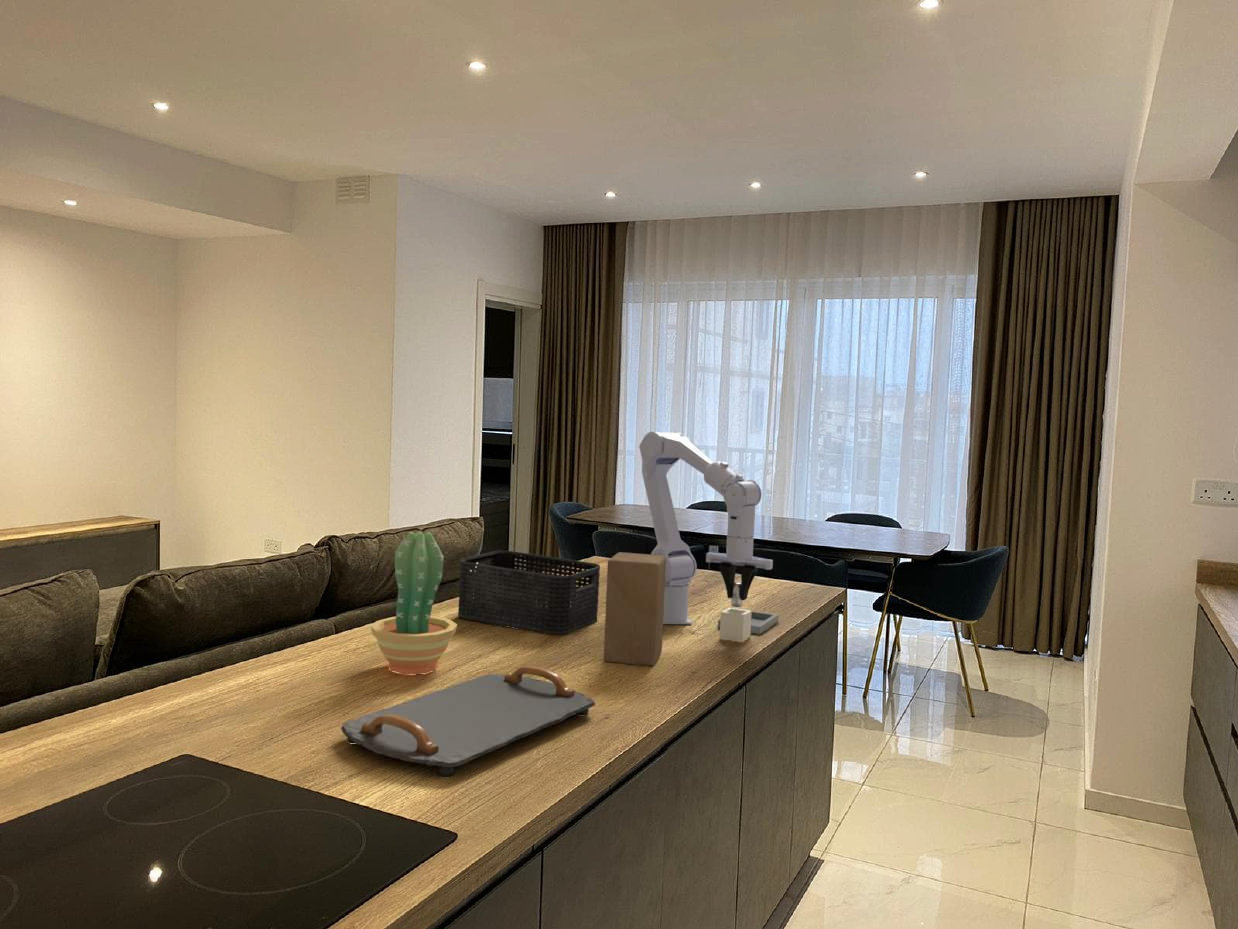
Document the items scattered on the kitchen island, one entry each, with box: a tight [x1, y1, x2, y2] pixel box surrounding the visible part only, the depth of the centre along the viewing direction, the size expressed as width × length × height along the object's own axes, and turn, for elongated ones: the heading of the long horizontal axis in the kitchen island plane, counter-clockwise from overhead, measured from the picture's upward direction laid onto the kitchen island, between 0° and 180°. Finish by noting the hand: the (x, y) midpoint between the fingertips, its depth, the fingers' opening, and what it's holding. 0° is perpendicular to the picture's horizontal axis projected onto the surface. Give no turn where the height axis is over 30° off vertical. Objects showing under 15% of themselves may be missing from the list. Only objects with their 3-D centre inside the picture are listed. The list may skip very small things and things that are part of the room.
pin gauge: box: [730, 581, 743, 608], centre depth 197 cm, size 2×2×5 cm
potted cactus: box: [370, 530, 458, 674], centre depth 165 cm, size 15×15×25 cm
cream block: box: [719, 607, 753, 644], centre depth 198 cm, size 5×5×6 cm
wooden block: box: [603, 551, 666, 667], centre depth 179 cm, size 10×10×20 cm
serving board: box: [340, 665, 596, 778], centre depth 138 cm, size 39×23×6 cm, turn 147°
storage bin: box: [457, 550, 601, 636], centre depth 207 cm, size 29×19×13 cm
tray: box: [717, 608, 779, 635], centre depth 210 cm, size 14×10×2 cm
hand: (737, 598), depth 197 cm, fingers closed on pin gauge, 2 cm apart
